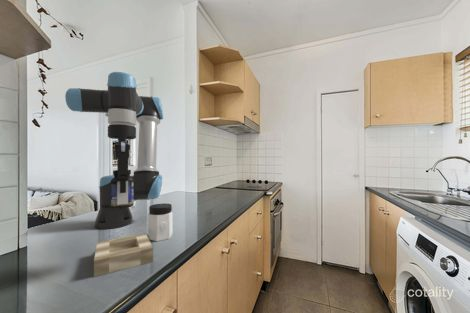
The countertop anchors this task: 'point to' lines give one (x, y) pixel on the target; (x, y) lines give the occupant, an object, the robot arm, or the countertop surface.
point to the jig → (122, 254)
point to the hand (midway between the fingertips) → (122, 201)
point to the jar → (160, 222)
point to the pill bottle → (114, 192)
